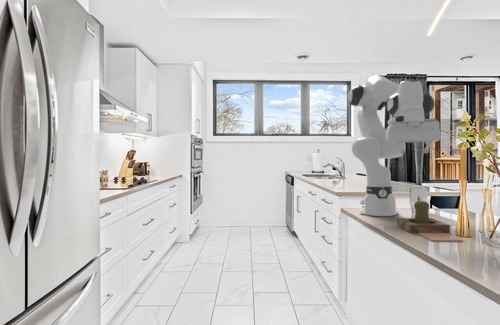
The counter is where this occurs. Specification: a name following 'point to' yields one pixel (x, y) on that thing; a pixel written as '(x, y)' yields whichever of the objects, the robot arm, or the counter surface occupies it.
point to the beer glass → (417, 197)
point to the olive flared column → (421, 212)
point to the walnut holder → (423, 226)
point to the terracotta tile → (440, 237)
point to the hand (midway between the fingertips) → (413, 153)
